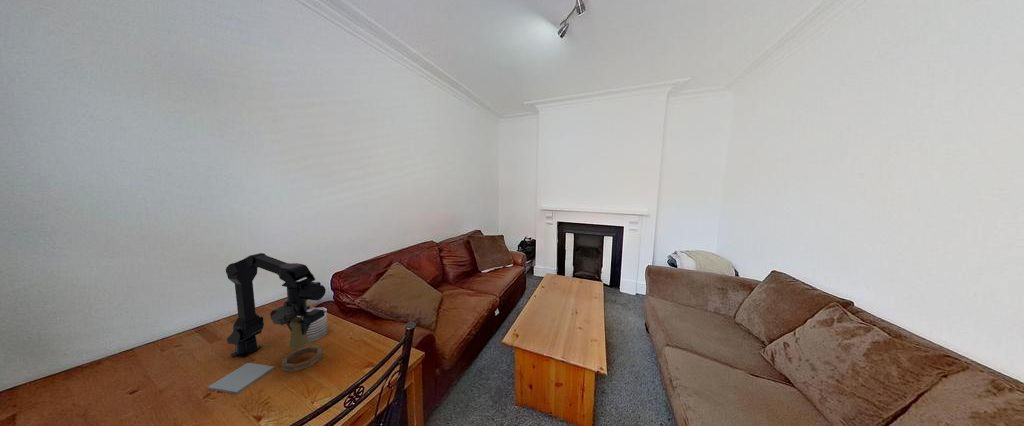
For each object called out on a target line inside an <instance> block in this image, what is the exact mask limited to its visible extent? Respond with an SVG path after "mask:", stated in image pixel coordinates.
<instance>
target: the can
mask: <svg viewBox="0 0 1024 426" xmlns="http://www.w3.org/2000/svg"><path fill="white" fill-rule="evenodd" d="M314 309H320V310H324V316H323V317H322V318H320V319H318V320H317V321H315V322H313V323H311V324H310V326H309V328H308V330H307V334H308V339H309V343H310V342H314V341H317V340H319V339H321V338H323V337H325V336H326V334H327V333H328V318H327V315H328V314H327V313H328V312H327V310H328V309H327V308H325V307H324V306H323V307H312V308H310V309H308V310H307V312H310V311H312V310H314Z"/></svg>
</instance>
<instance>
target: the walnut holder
mask: <svg viewBox="0 0 1024 426" xmlns="http://www.w3.org/2000/svg"><path fill="white" fill-rule="evenodd" d="M306 353H316V354H315V355H314V356H312V357H311V358H310V359H308V360H305V361H302V362H299V363H288V362H290V361H291V360H292V359H294V358H296V357H297V356H298V355H299V356H300V355H303V354H306ZM322 358H323V348H322V346H320V345H314V344H310V345H305V346H303V347H301V348H297V349H293V351H291V352H289V353H288V354H287V355H285V356H283V357H282V360H281V365H280V366H281V367H280V368H281V370H282V371H286V372H291V373H292V372H299V371H301V370H304V369H306V368H309V367H312V366H313V365H314V364H316V363H317V362H318V361H320V360H321V359H322Z"/></svg>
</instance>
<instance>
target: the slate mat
mask: <svg viewBox="0 0 1024 426" xmlns="http://www.w3.org/2000/svg"><path fill="white" fill-rule="evenodd" d="M274 370H275V366H273V365H272V366H271V365H266V364H260V363H259V364H258V363H254V362H253V363H251V362H246V363H244V364H243V365H242V366H240V367H238V368H237V369H234V371H231V372H230V373H228V374H227V375H225V376H223V377H221V378H219V379H218V380H217V381H215V382H214V383H211V384H210V385H208V386H206V387H207V390H211V391H217V392H222V393H228V394H234V395H238V394H239V393H241V392H242V391H244V390H245V389H247V388H248V387H250V386H251V385H252V384H254V383H255V382H257V381H258V380H260V379H261V378H264V376H266V375H267V374H269V373H270V372H272V371H274Z"/></svg>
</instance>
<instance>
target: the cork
mask: <svg viewBox="0 0 1024 426" xmlns="http://www.w3.org/2000/svg"><path fill="white" fill-rule="evenodd" d="M302 318H303V317H297V318H294V319H293V320H291V322H290V327H291V328H292V331H290V339H289V340H290V341H289V349H292V350H296V349H299V348H302V347H306V346H308V345H309V343H310V342H309V339H308V334H307V332H306V334H304V335H303V334H302V330H301V324H299V323H297V322H299V321H301V320H302Z"/></svg>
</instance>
